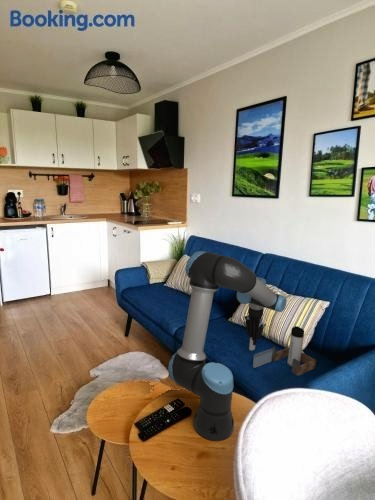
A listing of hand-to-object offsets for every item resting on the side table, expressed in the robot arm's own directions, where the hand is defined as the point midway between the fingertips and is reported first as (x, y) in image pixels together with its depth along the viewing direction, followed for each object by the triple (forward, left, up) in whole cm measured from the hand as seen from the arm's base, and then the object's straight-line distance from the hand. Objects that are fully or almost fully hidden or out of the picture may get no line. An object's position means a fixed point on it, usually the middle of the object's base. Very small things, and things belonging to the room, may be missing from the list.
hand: (252, 349), depth 169 cm
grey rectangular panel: (+1, -7, -6) cm, 9 cm away
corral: (+17, -14, -6) cm, 23 cm away
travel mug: (+17, -14, -6) cm, 23 cm away
